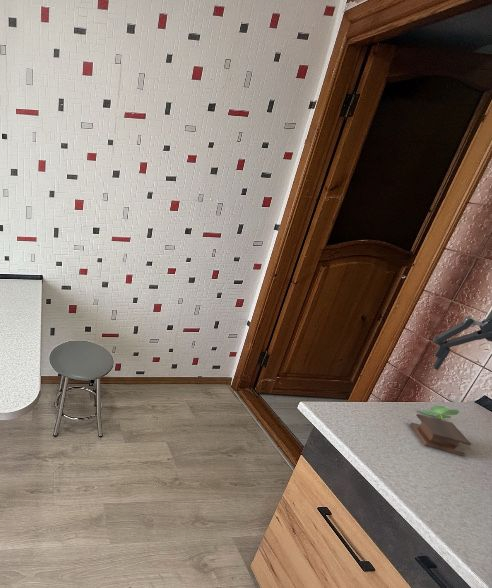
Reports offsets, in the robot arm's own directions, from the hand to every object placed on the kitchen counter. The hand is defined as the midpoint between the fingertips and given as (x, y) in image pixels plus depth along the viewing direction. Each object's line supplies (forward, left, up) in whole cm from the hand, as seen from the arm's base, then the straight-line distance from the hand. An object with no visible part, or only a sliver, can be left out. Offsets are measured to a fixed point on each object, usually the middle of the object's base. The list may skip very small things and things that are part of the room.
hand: (469, 379), depth 90 cm
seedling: (-1, -3, -18) cm, 18 cm away
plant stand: (+4, +7, -17) cm, 19 cm away
